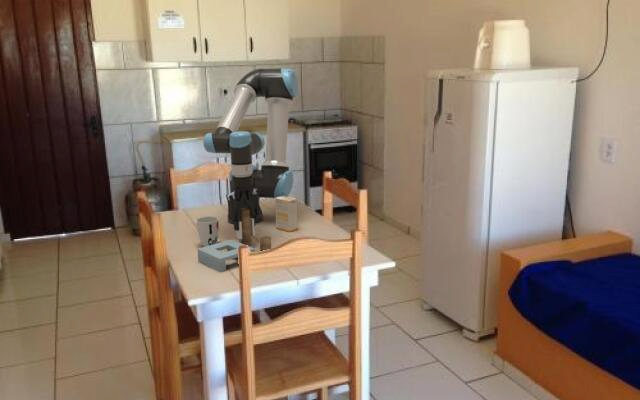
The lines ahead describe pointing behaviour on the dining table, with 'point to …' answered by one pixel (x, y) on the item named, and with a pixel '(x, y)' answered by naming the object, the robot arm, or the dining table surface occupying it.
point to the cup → (208, 230)
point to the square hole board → (219, 254)
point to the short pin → (265, 243)
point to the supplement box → (286, 213)
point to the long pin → (245, 227)
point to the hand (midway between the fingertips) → (245, 236)
